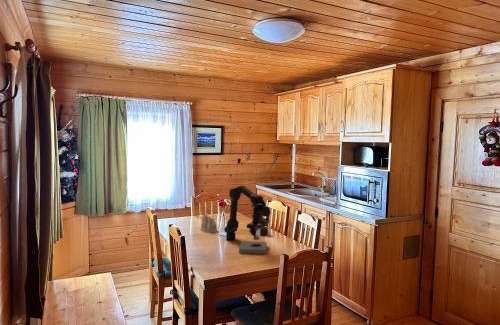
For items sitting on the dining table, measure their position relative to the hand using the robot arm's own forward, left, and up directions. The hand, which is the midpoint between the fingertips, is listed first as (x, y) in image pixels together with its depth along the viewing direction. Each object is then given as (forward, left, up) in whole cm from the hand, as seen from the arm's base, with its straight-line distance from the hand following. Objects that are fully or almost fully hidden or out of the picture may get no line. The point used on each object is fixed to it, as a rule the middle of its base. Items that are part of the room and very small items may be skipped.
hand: (256, 236), depth 242 cm
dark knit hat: (0, +42, -10) cm, 44 cm away
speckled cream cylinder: (0, 0, -2) cm, 2 cm away
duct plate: (-2, 0, -10) cm, 10 cm away
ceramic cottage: (-41, +46, -10) cm, 63 cm away
